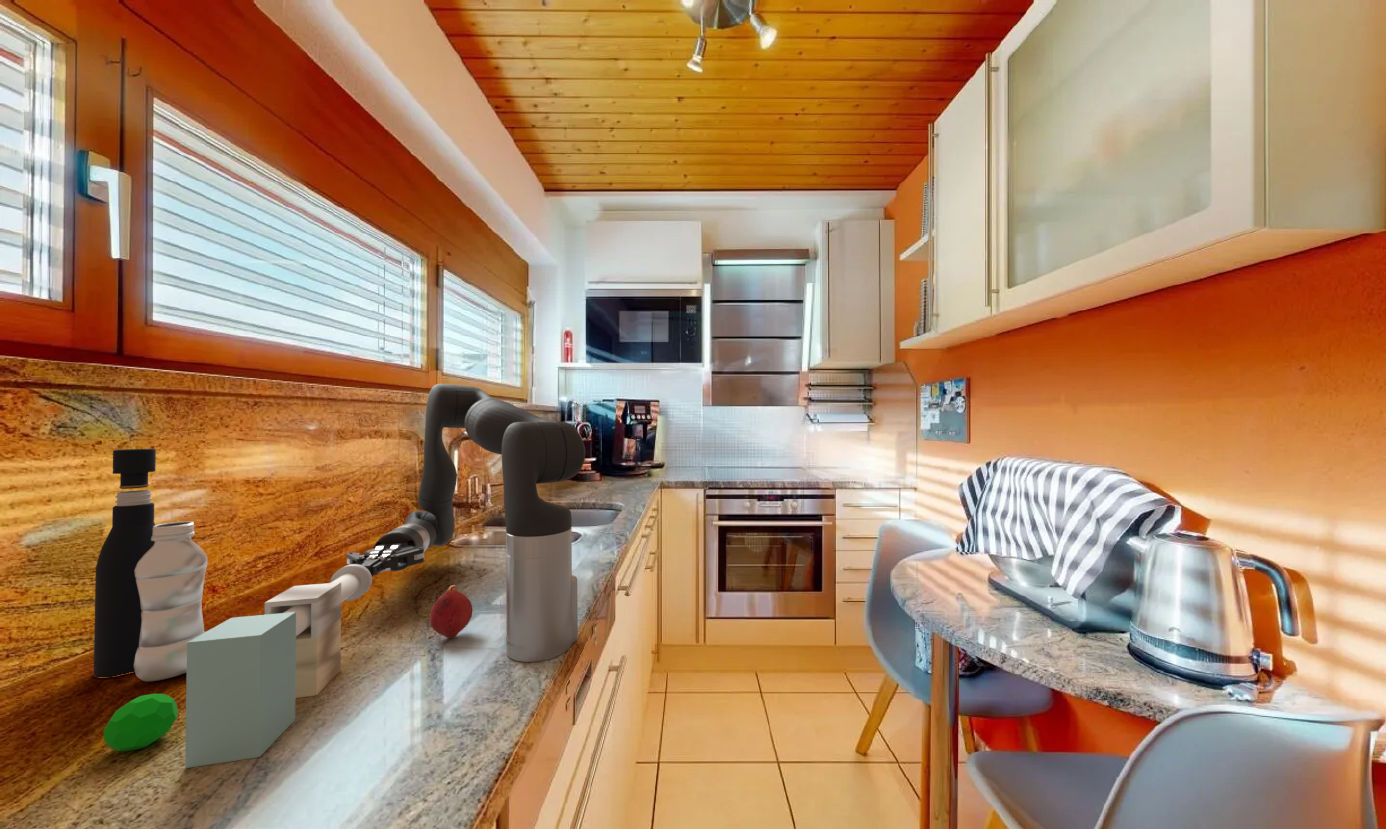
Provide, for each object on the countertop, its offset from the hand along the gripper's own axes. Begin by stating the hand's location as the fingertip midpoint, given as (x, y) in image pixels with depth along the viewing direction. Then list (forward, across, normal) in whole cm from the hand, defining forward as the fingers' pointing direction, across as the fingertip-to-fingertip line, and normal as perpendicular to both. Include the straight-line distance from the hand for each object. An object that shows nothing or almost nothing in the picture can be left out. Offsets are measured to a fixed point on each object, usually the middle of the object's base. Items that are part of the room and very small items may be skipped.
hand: (364, 572), depth 76 cm
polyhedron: (+26, -10, +9) cm, 29 cm away
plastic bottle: (+9, -19, +9) cm, 23 cm away
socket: (+28, 0, +9) cm, 30 cm away
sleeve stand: (+17, 0, +9) cm, 19 cm away
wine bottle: (+5, -26, +9) cm, 28 cm away
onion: (+7, +15, +9) cm, 19 cm away
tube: (+13, 0, +3) cm, 13 cm away
